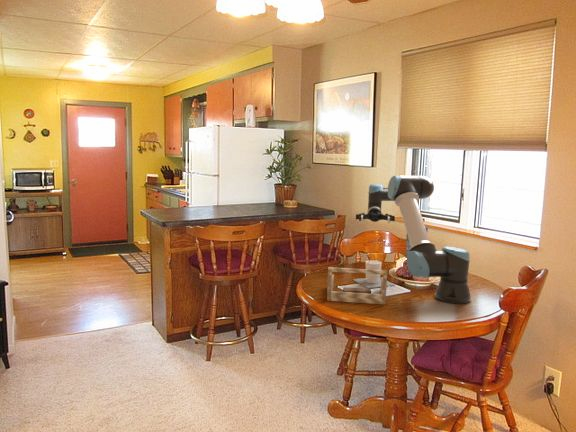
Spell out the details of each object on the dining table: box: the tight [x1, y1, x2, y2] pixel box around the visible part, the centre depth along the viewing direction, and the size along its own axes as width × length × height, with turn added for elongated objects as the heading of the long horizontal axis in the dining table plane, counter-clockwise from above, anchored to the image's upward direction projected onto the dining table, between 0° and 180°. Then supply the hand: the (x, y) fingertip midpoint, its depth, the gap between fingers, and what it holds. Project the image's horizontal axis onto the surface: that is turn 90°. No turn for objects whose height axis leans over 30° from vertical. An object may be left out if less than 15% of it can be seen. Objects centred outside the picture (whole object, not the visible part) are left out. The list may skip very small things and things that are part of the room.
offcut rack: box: [326, 266, 388, 305], centre depth 216 cm, size 25×21×15 cm
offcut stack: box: [338, 286, 372, 294], centre depth 212 cm, size 14×6×5 cm, turn 92°
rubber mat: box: [352, 277, 395, 289], centre depth 237 cm, size 15×15×1 cm
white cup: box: [365, 259, 383, 283], centre depth 237 cm, size 8×8×10 cm
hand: (375, 220), depth 243 cm, fingers open, 13 cm apart
